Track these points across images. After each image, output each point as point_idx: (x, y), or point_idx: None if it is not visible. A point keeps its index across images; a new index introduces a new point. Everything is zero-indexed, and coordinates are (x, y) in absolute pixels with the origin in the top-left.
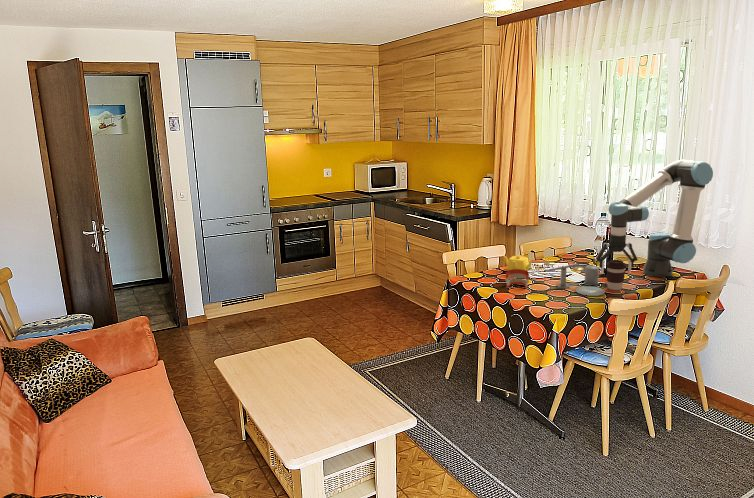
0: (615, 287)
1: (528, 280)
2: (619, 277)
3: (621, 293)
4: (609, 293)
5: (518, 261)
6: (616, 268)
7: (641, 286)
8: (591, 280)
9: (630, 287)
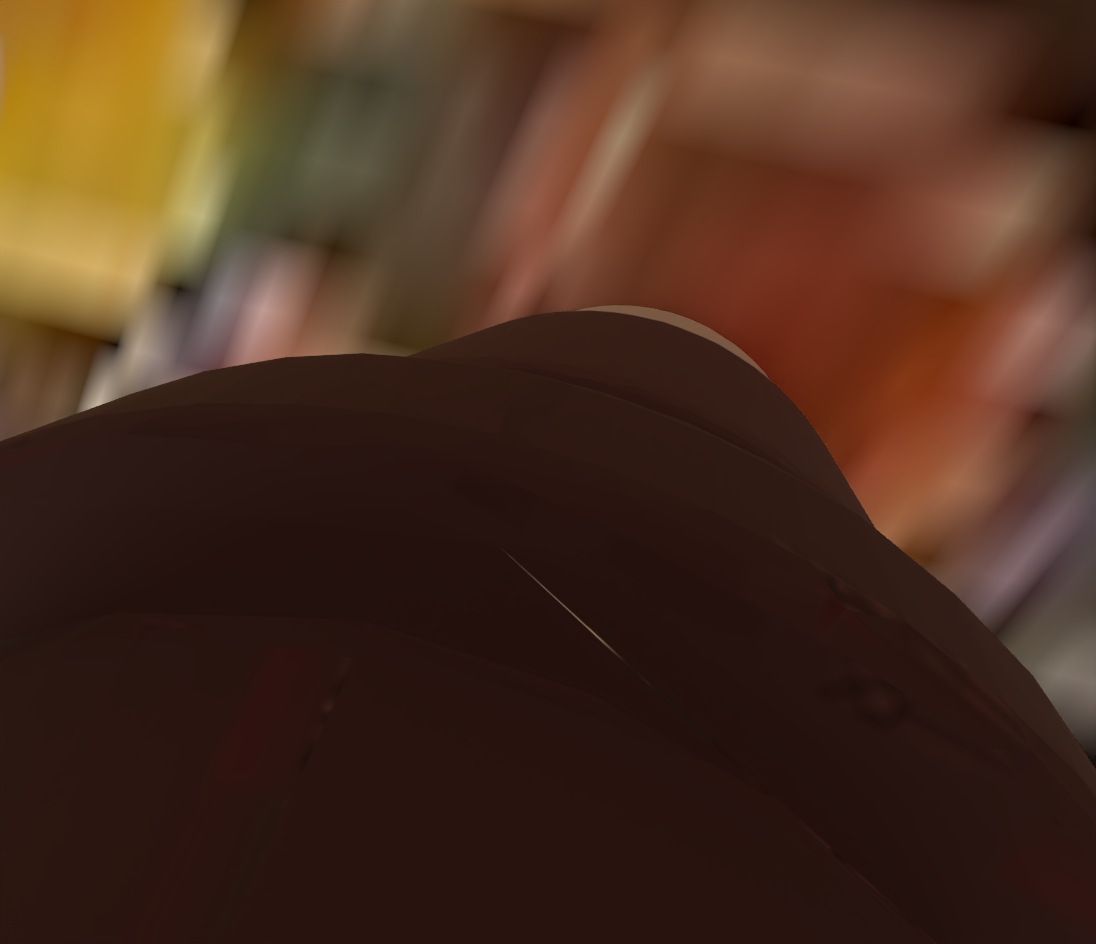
0: (696, 326)
1: None
2: (552, 333)
3: (661, 36)
4: (1007, 102)
5: None
6: (746, 474)
7: None
8: None
9: None
